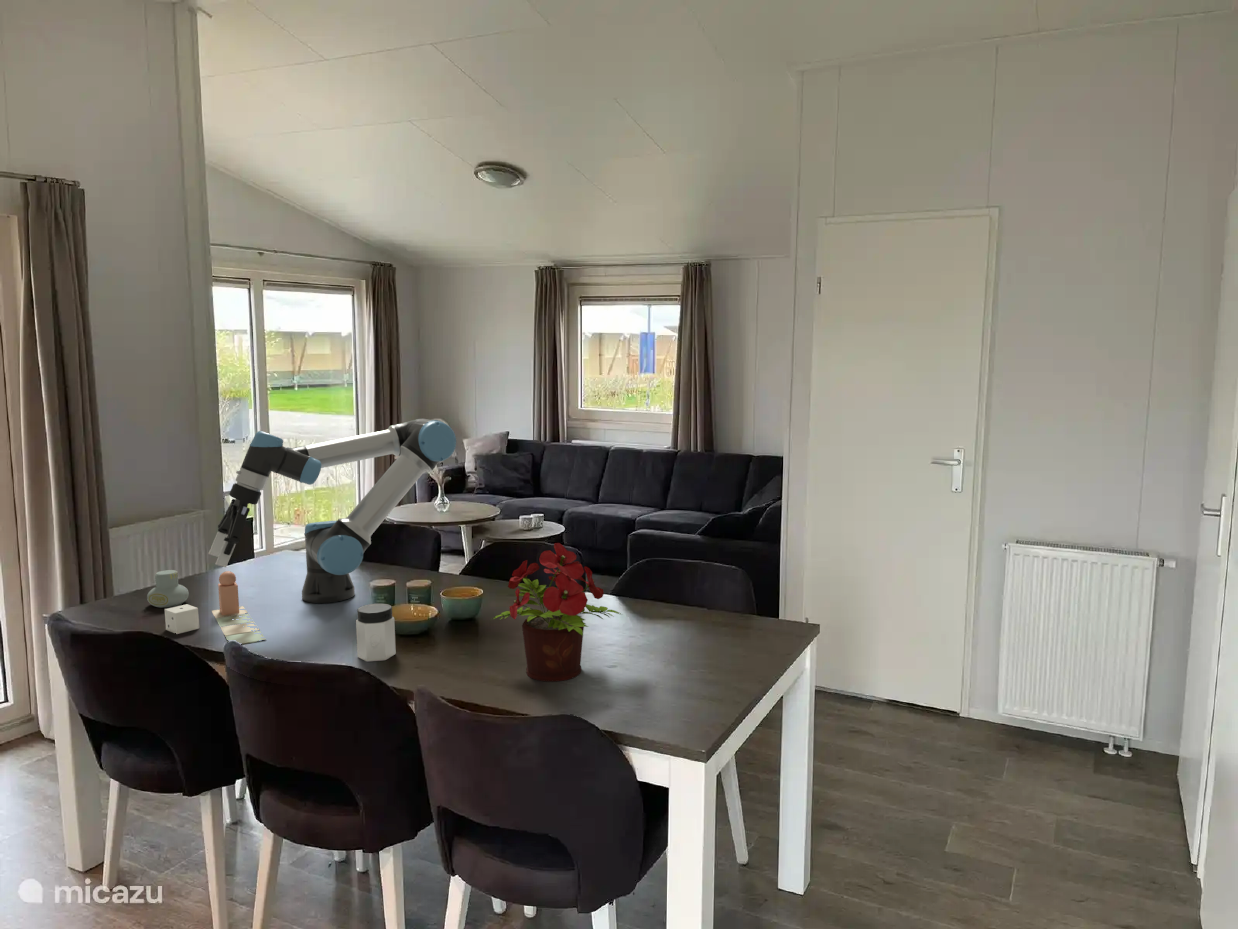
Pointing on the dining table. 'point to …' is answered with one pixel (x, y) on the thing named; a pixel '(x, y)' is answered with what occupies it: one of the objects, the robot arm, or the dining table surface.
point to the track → (237, 627)
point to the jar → (375, 632)
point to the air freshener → (167, 590)
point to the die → (181, 619)
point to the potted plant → (554, 615)
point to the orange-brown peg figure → (228, 593)
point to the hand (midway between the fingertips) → (216, 560)
